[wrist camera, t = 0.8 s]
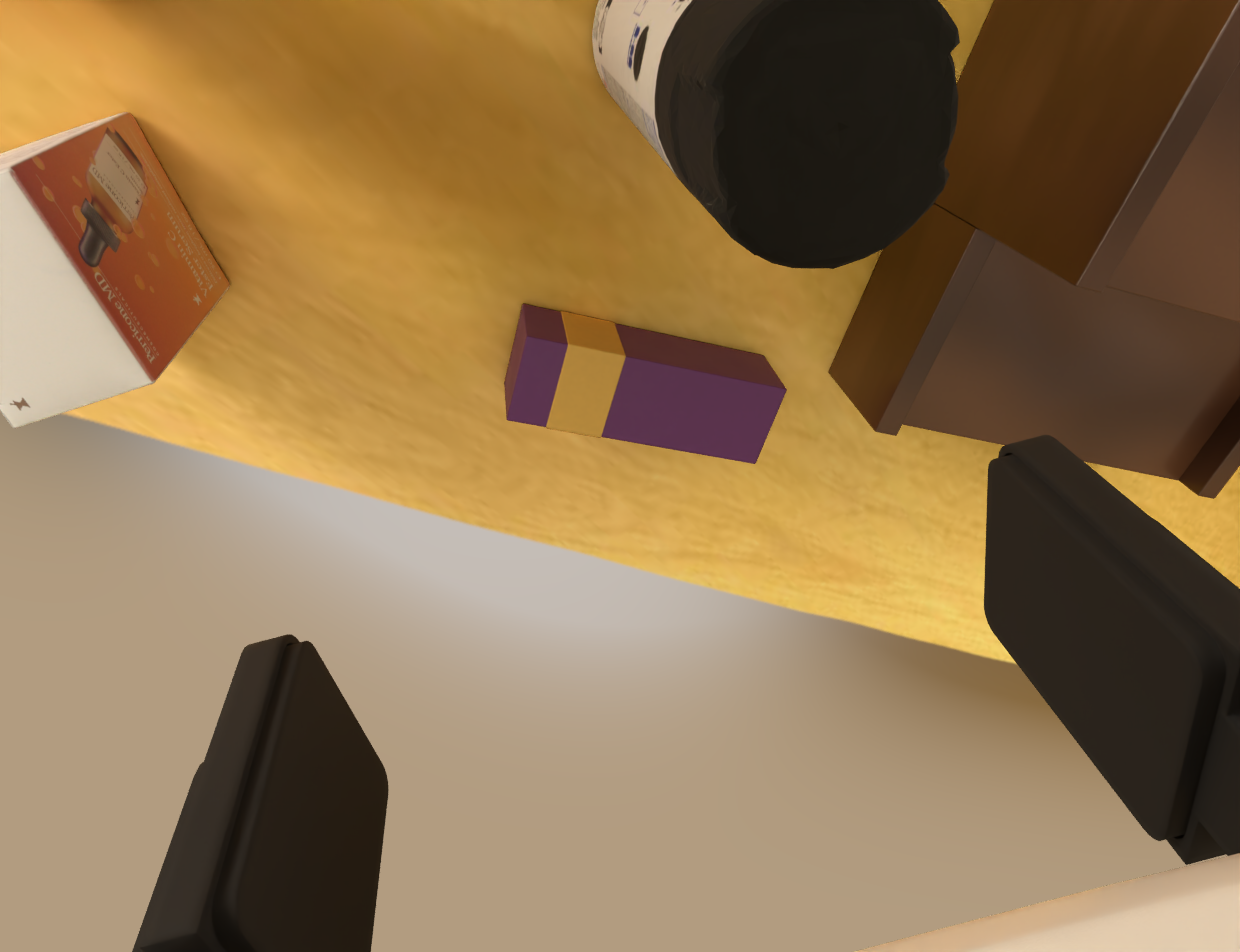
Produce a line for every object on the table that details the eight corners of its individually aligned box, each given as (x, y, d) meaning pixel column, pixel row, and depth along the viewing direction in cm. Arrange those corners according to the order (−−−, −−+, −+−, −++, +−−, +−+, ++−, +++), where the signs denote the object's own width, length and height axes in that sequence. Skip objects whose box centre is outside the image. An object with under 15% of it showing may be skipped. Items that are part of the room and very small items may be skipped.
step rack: (1054, -136, 34) (1388, -178, 21) (1420, 22, 39) (1856, 62, 27) (827, 372, 45) (959, 539, 33) (1136, 439, 51) (1350, 603, 38)
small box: (234, 285, 38) (160, 389, 30) (120, 322, 39) (13, 436, 30) (131, 105, 34) (9, 164, 25) (3, 147, 34) (-163, 221, 25)
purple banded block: (522, 301, 41) (526, 335, 37) (764, 354, 44) (788, 388, 41) (503, 383, 43) (506, 422, 39) (735, 426, 46) (755, 465, 43)
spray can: (741, -68, 34) (996, -73, 17) (749, 111, 37) (965, 251, 21) (578, -41, 33) (676, -19, 17) (603, 136, 37) (703, 299, 20)
